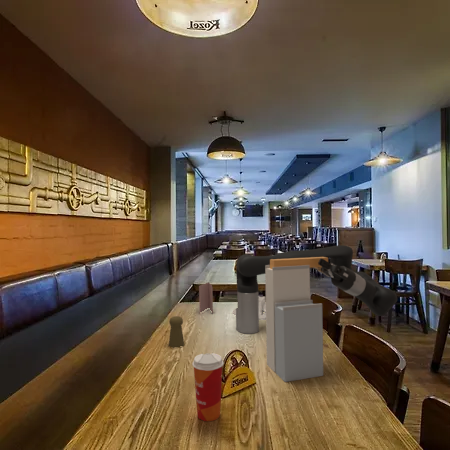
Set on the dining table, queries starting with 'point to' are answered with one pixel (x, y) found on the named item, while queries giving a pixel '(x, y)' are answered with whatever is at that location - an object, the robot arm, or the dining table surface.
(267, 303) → the tall pale grey pillar
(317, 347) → the grey box
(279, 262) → the bar
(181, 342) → the cork
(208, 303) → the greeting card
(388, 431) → the dining table surface
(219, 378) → the paper cup
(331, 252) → the robot arm
